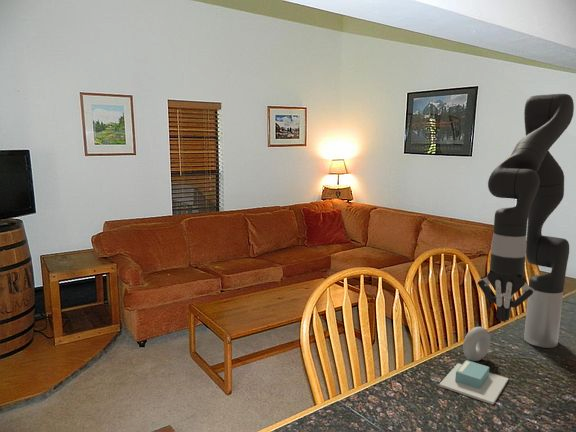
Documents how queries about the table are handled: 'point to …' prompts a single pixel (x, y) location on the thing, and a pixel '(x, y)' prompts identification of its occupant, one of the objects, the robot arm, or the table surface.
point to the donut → (476, 343)
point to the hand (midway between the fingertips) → (502, 320)
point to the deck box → (472, 374)
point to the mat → (485, 393)
